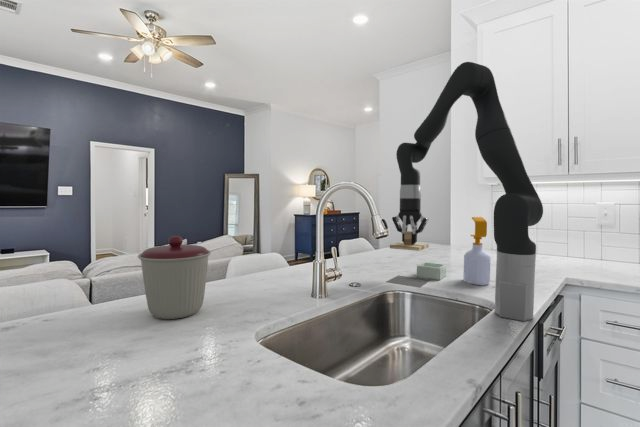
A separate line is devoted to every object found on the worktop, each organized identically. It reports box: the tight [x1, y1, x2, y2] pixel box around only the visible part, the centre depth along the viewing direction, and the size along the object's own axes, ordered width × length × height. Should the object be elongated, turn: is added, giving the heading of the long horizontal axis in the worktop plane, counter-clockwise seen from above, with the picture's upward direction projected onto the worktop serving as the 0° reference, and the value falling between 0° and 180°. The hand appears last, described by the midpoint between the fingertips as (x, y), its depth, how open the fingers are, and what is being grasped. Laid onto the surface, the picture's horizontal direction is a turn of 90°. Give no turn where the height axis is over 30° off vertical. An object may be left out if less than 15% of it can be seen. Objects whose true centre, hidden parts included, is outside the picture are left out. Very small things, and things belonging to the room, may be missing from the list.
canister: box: [137, 235, 212, 320], centre depth 93 cm, size 18×18×21 cm
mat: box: [385, 275, 431, 288], centre depth 129 cm, size 13×13×1 cm
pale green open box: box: [416, 261, 447, 281], centre depth 136 cm, size 9×9×5 cm
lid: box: [389, 230, 430, 252], centre depth 128 cm, size 11×11×6 cm
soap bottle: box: [462, 216, 491, 286], centre depth 129 cm, size 9×9×25 cm
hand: (409, 243), depth 128 cm, fingers closed on lid, 2 cm apart
